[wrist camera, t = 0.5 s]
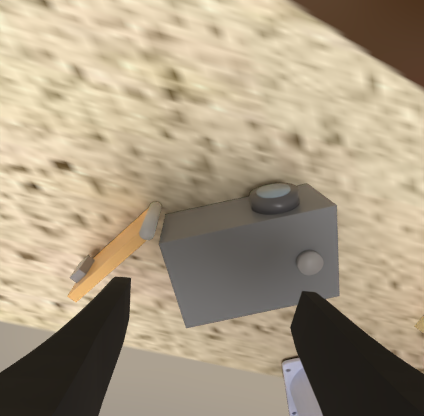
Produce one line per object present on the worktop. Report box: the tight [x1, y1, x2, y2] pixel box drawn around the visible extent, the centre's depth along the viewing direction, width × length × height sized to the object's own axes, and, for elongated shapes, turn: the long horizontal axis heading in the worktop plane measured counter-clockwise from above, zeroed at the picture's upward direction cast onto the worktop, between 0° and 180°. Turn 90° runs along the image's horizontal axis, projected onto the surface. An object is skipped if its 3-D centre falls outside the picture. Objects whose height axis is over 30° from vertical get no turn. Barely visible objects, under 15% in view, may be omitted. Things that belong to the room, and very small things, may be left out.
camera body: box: [159, 183, 339, 328], centre depth 19 cm, size 8×11×5 cm
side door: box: [67, 202, 162, 302], centre depth 19 cm, size 8×1×4 cm, turn 132°
